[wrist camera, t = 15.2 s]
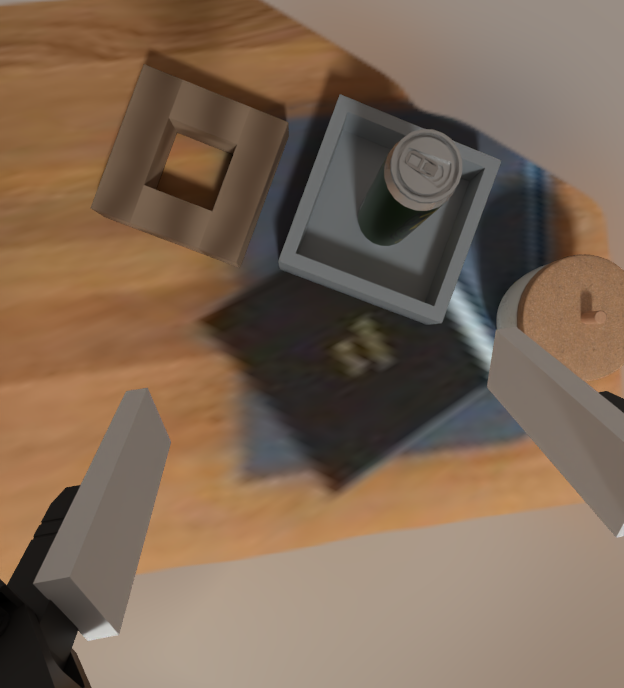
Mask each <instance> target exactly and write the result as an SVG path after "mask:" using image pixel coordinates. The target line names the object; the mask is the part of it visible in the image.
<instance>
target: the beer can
mask: <svg viewBox="0 0 624 688" xmlns="http://www.w3.org/2000/svg"><path fill="white" fill-rule="evenodd" d="M461 175H462V158H461V155H460V151H459V149H458V148H457V146H456V145H455V143H454V142H453V140H451V139H450V138H449V137H448V136H446V135H445V134H444V133H441V132H438V131H436V130H433V129H420V130H417V131H414V132H411V133H409V134H408V135H406V136H405V137H404V138H402V139H401V140H400V141H399V142H397V143H396V144H395V145H394V146H393V148H392V149H391V150H390V152H389V153H388V155H387V157H386V159H385V161H384V162H383V164H382V166H381V168H380V170H379V172H378V174H377V176H376V178H375V180H374V181H373V183H372V185H371V187H370V189H369V191H368V193H367V195H366V197H365V198H364V200H363V202H362V204H361V206H360V210H359V213H358V223H359V227H360V230H361V232H362V233H363V234H364V236H365V237H366V238H367V239H368V240H369V241H371V242H372V243H374V244H377V245H380V246H391V245H394V244H397V243H399V242H400V241H402V240H403V239H404V238H406V237H407V236H408V235H409V234H410V233H411V232H412V231H414V230H415V229H416V228H417V227H418V226H419V225H421V224H422V223H423V222H424V221H425V220H426V219H427V218H429V217H430V216H431V215H432V214H433V213H434V212H435V211H437V210H438V209H439V208H440V207H441V206H442V205H443V204H445V203H446V202H447V201H448V200H449V199H450V197H451V196H452V195H453V193H454V192H455V190H456V187H457V185H458V184H459V181H460V178H461Z"/></svg>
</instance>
